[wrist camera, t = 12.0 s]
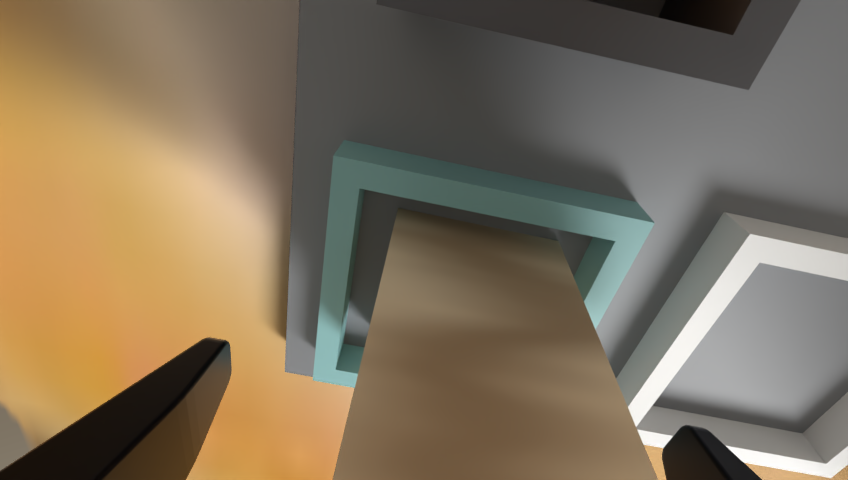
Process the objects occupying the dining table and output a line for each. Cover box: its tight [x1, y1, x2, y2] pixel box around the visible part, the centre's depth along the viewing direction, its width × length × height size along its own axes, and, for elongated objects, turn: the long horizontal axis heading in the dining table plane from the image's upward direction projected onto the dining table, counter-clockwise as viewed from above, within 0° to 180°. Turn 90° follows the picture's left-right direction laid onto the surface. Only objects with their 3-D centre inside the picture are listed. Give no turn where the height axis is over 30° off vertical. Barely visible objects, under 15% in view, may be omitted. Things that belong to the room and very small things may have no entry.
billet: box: [333, 208, 658, 480], centre depth 8 cm, size 4×4×7 cm
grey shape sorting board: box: [285, 0, 848, 478], centre depth 9 cm, size 18×18×4 cm
